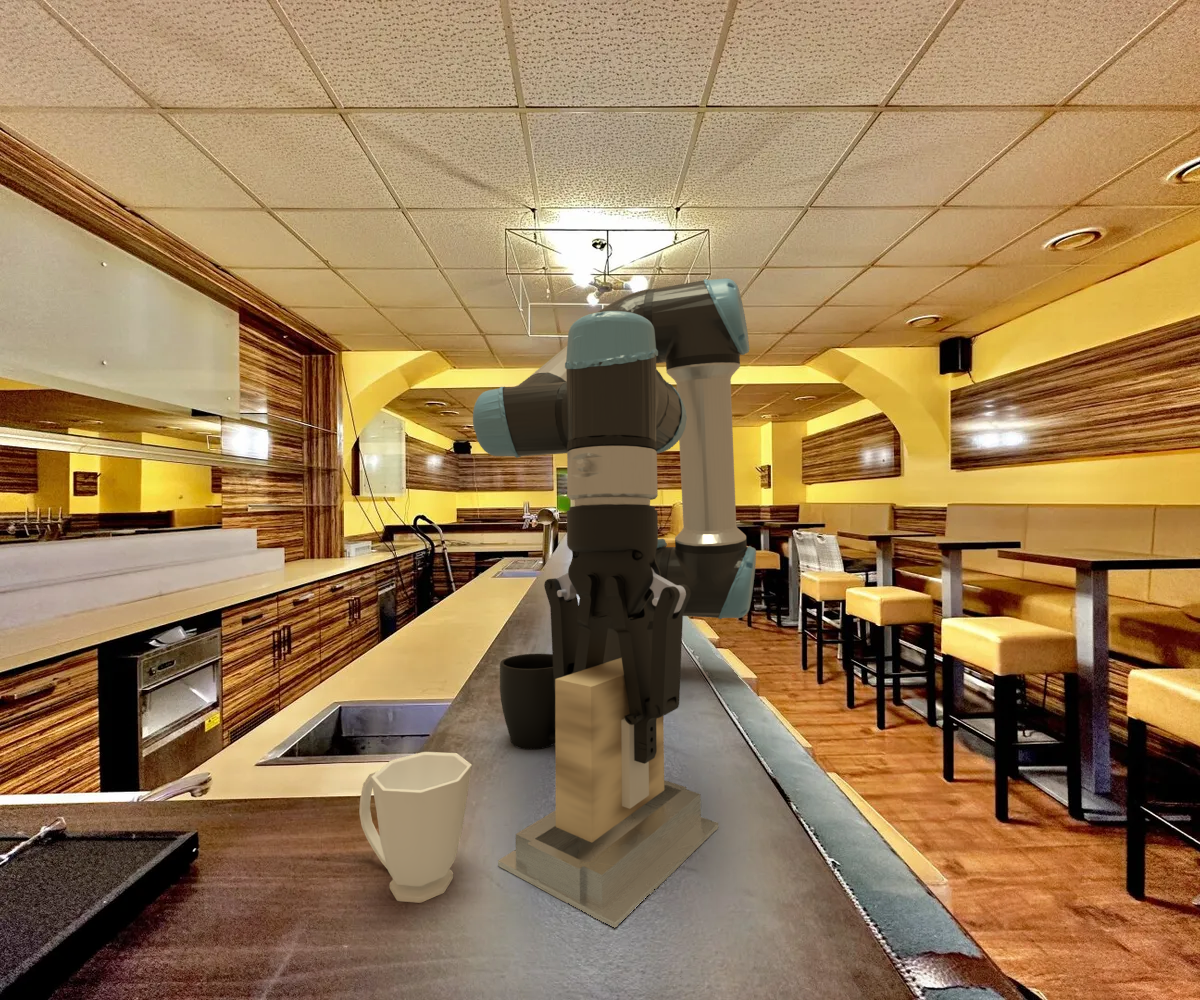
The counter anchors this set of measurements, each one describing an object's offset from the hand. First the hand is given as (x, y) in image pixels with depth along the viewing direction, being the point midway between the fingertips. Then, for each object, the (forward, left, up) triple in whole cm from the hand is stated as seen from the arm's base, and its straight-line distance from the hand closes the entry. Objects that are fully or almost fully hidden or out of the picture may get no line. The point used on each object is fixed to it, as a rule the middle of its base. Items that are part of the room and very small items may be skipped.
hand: (613, 792), depth 45 cm
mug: (-12, -19, -4) cm, 23 cm away
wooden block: (0, 0, -1) cm, 1 cm away
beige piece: (0, 0, -4) cm, 4 cm away
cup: (+12, -10, -4) cm, 16 cm away
